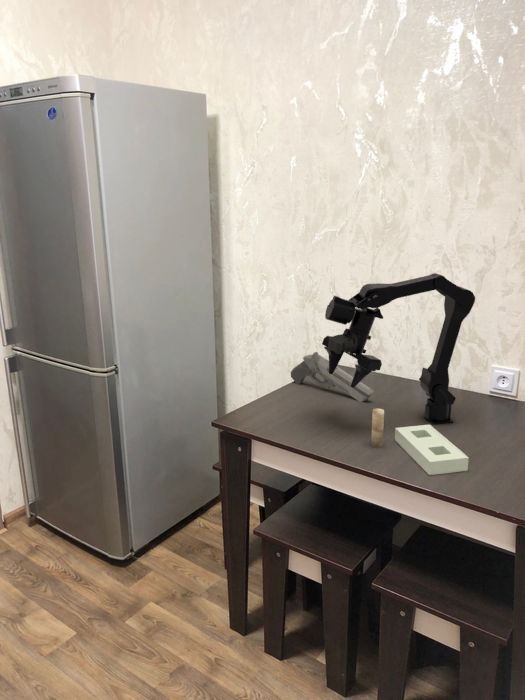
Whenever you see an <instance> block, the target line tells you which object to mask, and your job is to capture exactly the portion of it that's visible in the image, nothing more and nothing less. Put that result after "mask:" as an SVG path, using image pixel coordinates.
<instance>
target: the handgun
mask: <svg viewBox="0 0 525 700" xmlns="http://www.w3.org/2000/svg"><path fill="white" fill-rule="evenodd" d="M302 359H303V360H302V361H301V362H300V363H299V364H298V365H296V366H294V367H293V368H292V370H291V371H290V378H292V380H293V382H295V383H294V384H297V385H301V384H302V383H304V381H305V379H306V378H307V377H310V379H311V380H313V381H314V382H315V383H316V384H318V385H320V386H321V387H323V388H324V389H326V390H328V389H330V388H332V389H333V388H336V387H337V388H338V389H340V390H341V391H342V392H343V393H344V392H345V394H347V395H348V396H350V397H352V398H353V399H355V400H356V401H358V402H361V403H363V402H364V401H365V402H367V401H368V400H369V399H370V397H371V395H373V394H374V393H375V390H374V389H373V388H370V387H369V386H368V385H366V384H364V383H363V382H361V381H360V382H359V383H358V384H357V385H356V386H355V387H354V388H352V387H351V384H352V380H353V377H354V376H353V375H351V374H349V373H347V372H346V371H345V370H343V369H342V368H340V367H339V366H338V365H337V367H336V369H335V371H334V372H333V374H329V359H326V358H325V357H323V356H322V355H320V354H319V352H318V351H316V352H313V354H308V355H305V356H303V357H302ZM317 374H318V375H319V376H321V377H322V378H323V380H320V379H319V378H318V377H317Z"/></svg>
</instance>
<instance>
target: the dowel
mask: <svg viewBox="0 0 525 700" xmlns="http://www.w3.org/2000/svg"><path fill="white" fill-rule="evenodd" d="M371 417H372V418H371V435H370V436H371V440H370V443H371V444H370V445H371V447H372V448H377V449H380V448H382V447H383V445H384V444H383V441H384V439H383V438H384V427H385V425H384V421H385V410H384V409H383V408H379V407H378V408H373V409H372V414H371Z"/></svg>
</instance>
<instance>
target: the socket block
mask: <svg viewBox="0 0 525 700" xmlns="http://www.w3.org/2000/svg"><path fill="white" fill-rule="evenodd" d="M394 431H395V432H394V441H396V443H397V444H398V445H399V446H400V447H401V448H402V449H403V450H404V451H405V452H406V453H407V454H408V455H409V456H410V457H411V458H412V460H414V461H415V462H416V464H418V465H419V467H421V468H422V469H423V470H424V471H425V472H426V474H428V475H429V476H435V475H442V474H443V475H444V474H451V473H459V472H467V471H468V468H469V458H470V457H468V456H467V455H466V454H465V453H464V452H463V451H462V450H461V449H460V448H458V447H456V446H455V444H453V443H452V442H451V441H450V440H448V439H447V438H446V437H445V435H443V434H441V433H440V432H439V431H438V430H437V429H436V428H434V427H433V426H432V425H431V424H422V425H410V426H402V427H401V426H400V427H395V430H394Z"/></svg>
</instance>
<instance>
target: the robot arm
mask: <svg viewBox="0 0 525 700" xmlns="http://www.w3.org/2000/svg"><path fill="white" fill-rule="evenodd" d="M431 291H436V292H438V293H439V294H440V295H441V296H443V297H444V302H443V308H444V309H443V310H444V319H443V322H442V327H441V331H440V333H439V334H440V335H439V337H438V339H437V344H436V348H435V351H434V354H433V358H432V362H431V363H430V365H429V366H428V367H427V368H426V367H422V369H421V374H420V377H419V379H418V381H420V383H419V384H420V387H421V389H422V390H423V391H424V392H425V395H426V396H427V397H429V398H427V400H426V403H425V405H424V406H425V407H424V414H422V415H423V417H424V418H425V419H426V420H427V421H429V422H430V423H431V424H433V425H437V424H439V425H440V424H447V423H453V422H454V420H453V418H451V416H452V406H453V405H454V404H455V401H456V399H457V397H455V395H453V394H452V393H451V391H449V385H450V377H449V375H450V374H449V368H450V364H451V360H452V357H453V354H454V349H455V348H456V344H457V341H458V337H459V333H460V330H461V327H462V323H463V321H464V320H465V319H466V318H467V316H469V314H470V313H471V312H472V311H471V310H472V308H473V307H474V305H475V302H476V296H475V294H474V292H472V291H471V289H467V288H464V287H463V286H459V285H457V284H455V283H454V282H453V281H451V280H449V279H447V278H446V277H445V276H444V275H443V274H439V273H437V272H436V273H435V272H434V273H431V274H429V275H424V276H420V277H417V278H410V279H407V280H402V281H398V282H393V283H381V282H380V283H366V284H364V285H362V287H361V289H360V290H359V291H358V293H356V294H355V295H354V296H352V297H351V298H349V299H344V298H341V297H339V296H338V295H333V297H332V299H331V300H330V301H329V303H328V304H327V306H326V309H325V315H324V318H325V320H327V321H331V322H335V323H337V324H341V325H344V326H346V325H347V324H349V328H347V327H346V328H345V329H344V331H343V333H342V334H337V335H326V336H324V338H323V340H322V343H321V344H322V346H324V349H325V351H326V352H327V354H328V360H329V374H333V372H334V371H335V369H336V367H337V366H338V365H339V363H340V361H341V358H342V357H343V355H344V354H346V355H348V356H350V357H352V358H355V359H356V362H357V364H354V367H355V372H354V375H353V376H352V377H353V380H352V384H351V387H352V388H354V387H355V386H356V385H357V384H358V383H359V382H361V381H362V380H363V379H364V378H365V377H367V376H368V375H369V374H370V373H372V372H376V371H380V370H381V367H382V366H383V363H382V360H381V359H379V358H377V356H374V355H371V354H366V352H367V349H365V347H366V344H367V341H370V340H371V339H372V336H371V335H370V332H371V331H372V328H373V324H374V322H375V319H376V318H378V319H381V320H383V319H384V316H383V314H382V312H381V309H380V308H381V307H383V306H386V305H389V303H390V304H391V302H392V301H395V300H397V299H399V298H401V299H402V298H404V297H410V296H414V295H419V294H423V293H427V292H428V293H429V292H431Z"/></svg>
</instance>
